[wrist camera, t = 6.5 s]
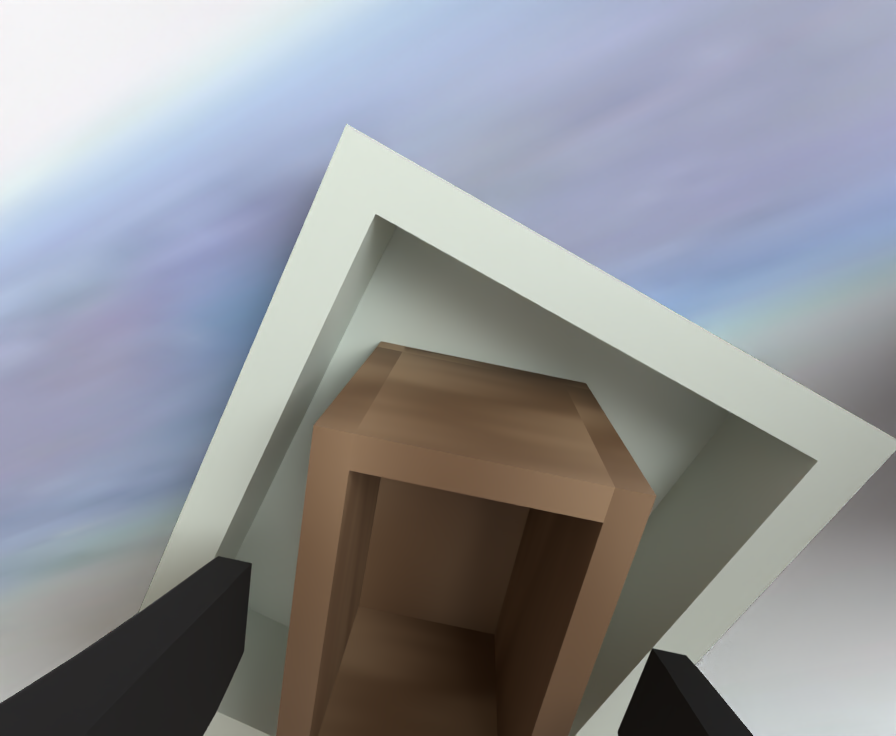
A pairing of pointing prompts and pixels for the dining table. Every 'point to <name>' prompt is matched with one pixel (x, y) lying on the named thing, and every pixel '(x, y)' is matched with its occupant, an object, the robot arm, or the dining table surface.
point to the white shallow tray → (530, 349)
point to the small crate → (456, 551)
